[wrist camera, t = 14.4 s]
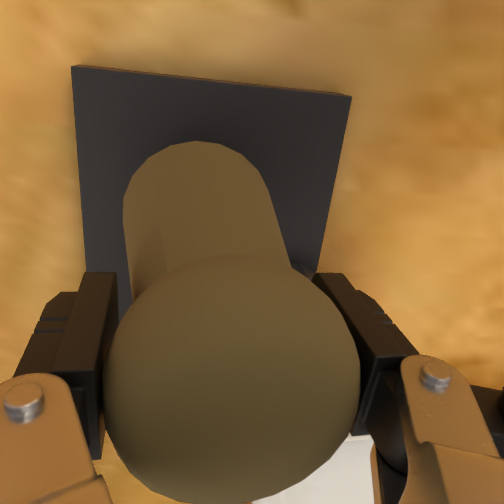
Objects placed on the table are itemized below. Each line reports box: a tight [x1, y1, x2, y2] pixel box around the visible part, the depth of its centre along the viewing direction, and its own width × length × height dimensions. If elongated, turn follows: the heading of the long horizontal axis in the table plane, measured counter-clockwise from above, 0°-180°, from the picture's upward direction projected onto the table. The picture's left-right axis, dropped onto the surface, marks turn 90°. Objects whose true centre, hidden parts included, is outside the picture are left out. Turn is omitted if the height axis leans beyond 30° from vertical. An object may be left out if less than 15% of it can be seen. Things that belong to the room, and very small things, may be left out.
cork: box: [102, 141, 361, 504], centre depth 12 cm, size 6×6×11 cm
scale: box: [71, 65, 352, 323], centre depth 20 cm, size 14×13×3 cm
